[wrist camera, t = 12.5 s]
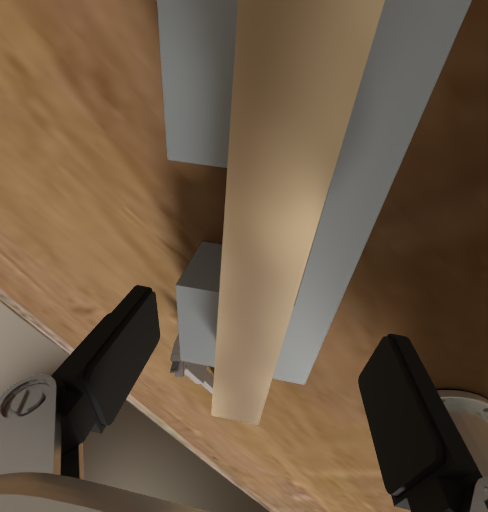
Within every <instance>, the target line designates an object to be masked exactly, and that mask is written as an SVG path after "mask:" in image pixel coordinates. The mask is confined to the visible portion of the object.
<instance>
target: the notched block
mask: <svg viewBox="0 0 488 512" xmlns="http://www.w3.org/2000/svg"><path fill="white" fill-rule="evenodd" d="M471 1H472V0H385V2H384V5H383V9H382V12H381V15H380V19H379V22H378V25H377V29H376V32H375V35H374V39H373V42H372V45H371V49H370V52H369V55H368V59H367V62H366V66H365V69H364V72H363V76H362V79H361V82H360V86H359V89H358V92H357V96H356V99H355V102H354V106H353V109H352V112H351V116H350V119H349V123H348V126H347V129H346V133H345V136H344V139H343V143H342V146H341V149H340V153H339V156H338V159H337V163H336V166H335V169H334V173H333V176H332V180H331V183H330V186H329V190H328V193H327V196H326V200H325V203H324V206H323V210H322V213H321V216H320V220H319V223H318V226H317V230H316V233H315V237H314V240H313V243H312V247H311V250H310V253H309V257H308V260H307V263H306V267H305V270H304V273H303V277H302V280H301V283H300V287H299V290H298V294H297V297H296V300H295V304H294V307H293V310H292V314H291V317H290V320H289V324H288V327H287V330H286V334H285V337H284V340H283V344H282V347H281V351H280V354H279V357H278V361H277V364H276V367H275V371H274V374H273V377H272V379H277V380H283V381H288V382H293V383H298V384H303V385H305V383H306V380H307V378H308V376H309V373H310V371H311V369H312V366H313V364H314V362H315V360H316V357H317V355H318V353H319V350H320V348H321V346H322V344H323V341H324V339H325V337H326V334H327V332H328V330H329V327H330V325H331V323H332V321H333V318H334V316H335V314H336V311H337V309H338V307H339V304H340V302H341V300H342V298H343V295H344V293H345V291H346V288H347V286H348V284H349V281H350V279H351V277H352V275H353V272H354V270H355V268H356V265H357V263H358V261H359V258H360V256H361V254H362V252H363V249H364V247H365V245H366V242H367V240H368V238H369V235H370V233H371V231H372V229H373V226H374V224H375V222H376V219H377V217H378V215H379V212H380V210H381V208H382V206H383V203H384V201H385V199H386V196H387V194H388V192H389V190H390V187H391V185H392V183H393V180H394V178H395V176H396V173H397V171H398V169H399V167H400V164H401V162H402V160H403V157H404V155H405V153H406V150H407V148H408V146H409V144H410V141H411V139H412V137H413V134H414V132H415V130H416V127H417V125H418V123H419V121H420V118H421V116H422V114H423V111H424V109H425V107H426V104H427V102H428V100H429V98H430V95H431V93H432V91H433V88H434V86H435V84H436V81H437V79H438V77H439V75H440V72H441V70H442V68H443V65H444V63H445V61H446V58H447V56H448V54H449V52H450V49H451V47H452V45H453V42H454V40H455V38H456V35H457V33H458V31H459V29H460V26H461V24H462V22H463V19H464V17H465V15H466V13H467V10H468V8H469V6H470V3H471ZM157 8H158V24H159V39H160V54H161V69H162V84H163V100H164V115H165V130H166V145H167V160H173V161H180V162H187V163H194V164H201V165H208V166H216V167H223V168H227V166H228V150H229V135H230V120H231V104H232V89H233V73H234V58H235V42H236V27H237V12H238V0H157ZM221 258H222V244H216V243H210V242H203V241H202V242H201V244H200V246H199V247H198V249H197V251H196V252H195V254H194V256H193V257H192V259H191V261H190V262H189V264H188V265H187V267H186V269H185V270H184V272H183V274H182V275H181V277H180V279H179V280H178V282H177V284H176V298H177V313H178V328H179V343H180V359H181V361H185V362H190V363H195V364H201V365H206V366H211V367H214V366H215V351H216V335H217V320H218V305H219V289H220V274H221Z"/></svg>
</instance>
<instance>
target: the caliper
mask: <svg viewBox="0 0 488 512" xmlns="http://www.w3.org/2000/svg"><path fill="white" fill-rule="evenodd" d="M170 360H171V361H172V362H173V363H172V367H171V371H170V373H174V372H175V377H183V376H184V374H185V375H187V376H188V377H189V378H190V379H191V380H192V381H194V382H195V383H196V384H202V385H203V386H204V387H205V388H206V389H207V390H208V391H209V392H210V393H211V394H212V395H213V382H214V377H213V376H212V375H211V374H210V373H209V372H208V371H207V370H206V368H207V366H206V365H201V364H195V363H190V362H185V361H181V359H180V343H179V334H178V336H177V338H176V340H175V343H174V347H173V351H172V355H171V359H170Z"/></svg>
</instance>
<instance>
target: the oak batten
mask: <svg viewBox="0 0 488 512" xmlns="http://www.w3.org/2000/svg"><path fill="white" fill-rule="evenodd" d="M384 2H385V0H238V12H237V27H236V42H235V58H234V73H233V89H232V104H231V120H230V135H229V150H228V166H227V181H226V197H225V212H224V227H223V243H222V258H221V274H220V289H219V305H218V320H217V335H216V351H215V366H214V382H213V397H212V412H211V416H216V417H221V418H226V419H231V420H235V421H240V422H245V423H250V424H254V425H258V424H259V421H260V418H261V414H262V411H263V408H264V404H265V401H266V397H267V394H268V391H269V387H270V384H271V381H272V377H273V374H274V371H275V367H276V364H277V361H278V357H279V354H280V351H281V347H282V344H283V340H284V337H285V334H286V330H287V327H288V324H289V320H290V317H291V314H292V310H293V307H294V304H295V300H296V297H297V294H298V290H299V287H300V283H301V280H302V277H303V273H304V270H305V267H306V263H307V260H308V257H309V253H310V250H311V247H312V243H313V240H314V237H315V233H316V230H317V226H318V223H319V220H320V216H321V213H322V210H323V206H324V203H325V200H326V196H327V193H328V190H329V186H330V183H331V180H332V176H333V173H334V169H335V166H336V163H337V159H338V156H339V153H340V149H341V146H342V143H343V139H344V136H345V133H346V129H347V126H348V123H349V119H350V116H351V112H352V109H353V106H354V102H355V99H356V96H357V92H358V89H359V86H360V82H361V79H362V76H363V72H364V69H365V66H366V62H367V59H368V55H369V52H370V49H371V45H372V42H373V39H374V35H375V32H376V29H377V25H378V22H379V19H380V15H381V12H382V9H383V5H384Z"/></svg>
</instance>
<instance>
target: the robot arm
mask: <svg viewBox="0 0 488 512" xmlns="http://www.w3.org/2000/svg"><path fill="white" fill-rule="evenodd" d="M159 339H160V329H159V320H158V311H157V303H156V294H155V292H152V289H151V288H150V287H145V286H140V285H136V286H135V287H134V288H133V289H132V290H131V291H130V292H129V293H128V295H127V296H126V297H125V298H124V299H123V300H122V301H121V302H120V304H119V305H118V306H117V307H116V308H115V309H114V310H113V311H112V313H109V314H107V315H106V316H105V317H104V318H103V319H102V320H101V321H100V323H99V324H98V325H97V326H96V327H95V328H94V329H93V330H92V331H91V332H90V334H89V335H88V336H87V337H86V338H85V339H84V340H83V341H82V342H81V344H80V345H79V346H78V347H77V348H76V349H75V350H74V351H73V352H72V353H71V355H70V356H69V357H68V358H67V359H66V360H65V361H64V362H63V364H62V365H61V366H60V367H59V368H58V369H57V370H56V371H55V372H54V373H53V374H52V376H48V375H35V376H30V377H28V378H25V379H23V380H21V381H19V382H17V383H16V384H14V385H13V386H11V387H10V388H9V389H7V390H6V391H5V392H4V393H3V394H2V395H1V397H0V512H208V511H204V510H200V509H196V508H193V507H189V506H185V505H181V504H177V503H173V502H170V501H166V500H162V499H158V498H154V497H150V496H146V495H143V494H138V493H134V492H131V491H127V490H123V489H119V488H115V487H111V486H107V485H103V484H98V483H94V482H90V481H86V480H84V466H83V442H84V440H85V439H86V437H87V436H88V434H89V432H90V431H93V432H97V433H102V432H103V430H104V428H105V427H106V425H110V424H111V423H112V422H113V421H114V419H115V417H116V416H117V414H118V412H119V410H120V409H121V407H122V405H123V403H124V402H125V400H126V398H127V396H128V395H129V393H130V391H131V389H132V388H133V386H134V384H135V382H136V380H137V379H138V377H139V375H140V373H141V372H142V370H143V368H144V366H145V365H146V363H147V361H148V359H149V358H150V356H151V354H152V352H153V351H154V349H155V347H156V345H157V344H158V342H159ZM358 384H359V388H360V392H361V396H362V400H363V404H364V408H365V412H366V415H367V419H368V423H369V427H370V431H371V435H372V439H373V443H374V446H375V450H376V454H377V458H378V462H379V466H380V470H381V474H382V477H383V481H384V485H385V488H386V490H387V492H388V493H389V494H390V495H391V496H392V499H393V503H394V506H395V507H399V508H403V509H408V510H411V512H488V399H486V398H484V397H482V396H480V395H477V394H473V393H470V392H465V391H458V390H436V388H435V386H434V384H433V383H432V381H431V379H430V377H429V375H428V373H427V371H426V369H425V368H424V366H423V364H422V362H421V360H420V358H419V356H418V354H417V353H416V351H415V349H414V347H413V345H412V343H411V341H410V340H409V338H407V337H405V336H400V335H395V334H388V335H387V337H385V336H384V337H383V338H382V339H381V341H380V343H379V344H378V346H377V348H376V349H375V351H374V353H373V354H372V356H371V357H370V359H369V361H368V362H367V364H366V366H365V367H364V369H363V371H362V372H361V374H360V376H359V379H358Z"/></svg>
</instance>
